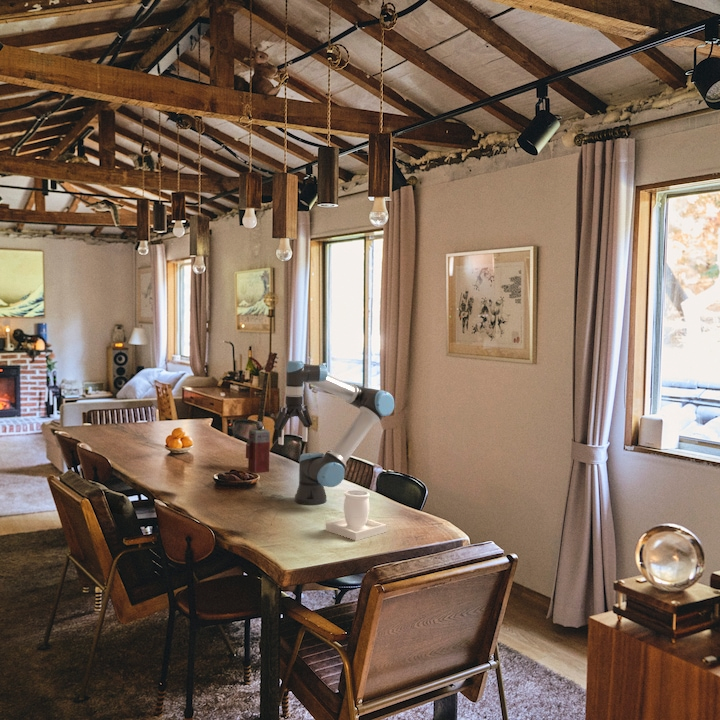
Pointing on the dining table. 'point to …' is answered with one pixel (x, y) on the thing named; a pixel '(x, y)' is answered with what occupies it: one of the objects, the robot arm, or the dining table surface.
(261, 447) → the toy vending machine
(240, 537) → the dining table surface
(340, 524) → the white square tray
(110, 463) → the dining table surface
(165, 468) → the dining table surface
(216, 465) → the dining table surface
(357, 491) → the jar
